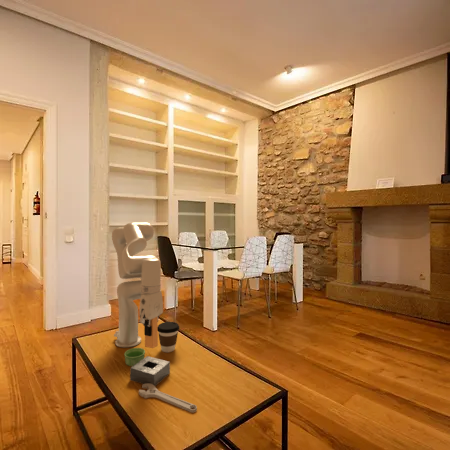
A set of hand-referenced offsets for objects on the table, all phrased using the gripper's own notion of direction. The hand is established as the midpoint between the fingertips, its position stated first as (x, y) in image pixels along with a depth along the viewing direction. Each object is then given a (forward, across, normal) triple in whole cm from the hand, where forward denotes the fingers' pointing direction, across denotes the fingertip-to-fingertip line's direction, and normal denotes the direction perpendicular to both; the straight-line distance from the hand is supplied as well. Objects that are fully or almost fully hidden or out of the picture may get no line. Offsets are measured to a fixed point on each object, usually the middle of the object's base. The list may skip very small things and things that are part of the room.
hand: (150, 333), depth 117 cm
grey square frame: (+18, 0, 0) cm, 18 cm away
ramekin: (+18, +7, +14) cm, 24 cm away
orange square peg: (+5, 0, 0) cm, 5 cm away
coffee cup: (+18, +23, +7) cm, 30 cm away
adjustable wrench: (+19, -10, -14) cm, 25 cm away
